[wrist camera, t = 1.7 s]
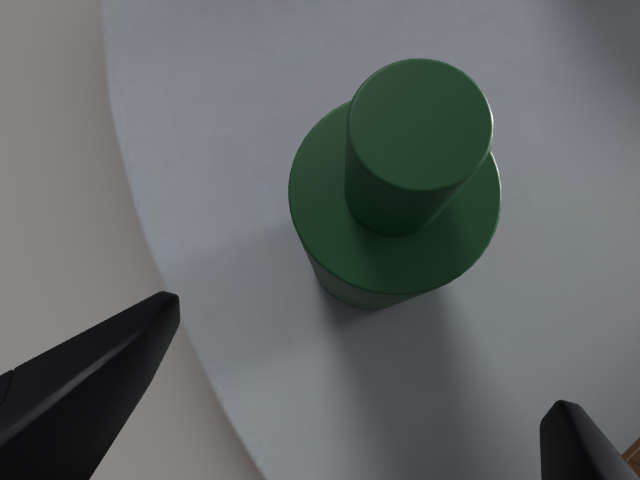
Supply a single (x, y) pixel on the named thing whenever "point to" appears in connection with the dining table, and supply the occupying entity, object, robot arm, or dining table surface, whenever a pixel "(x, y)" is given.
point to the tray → (633, 457)
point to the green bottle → (398, 185)
